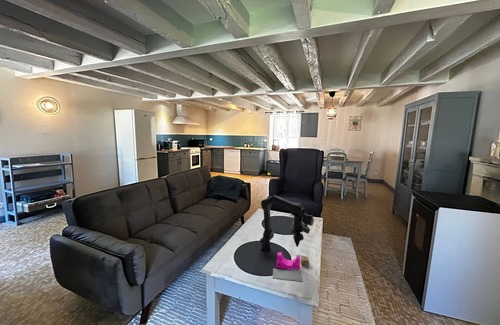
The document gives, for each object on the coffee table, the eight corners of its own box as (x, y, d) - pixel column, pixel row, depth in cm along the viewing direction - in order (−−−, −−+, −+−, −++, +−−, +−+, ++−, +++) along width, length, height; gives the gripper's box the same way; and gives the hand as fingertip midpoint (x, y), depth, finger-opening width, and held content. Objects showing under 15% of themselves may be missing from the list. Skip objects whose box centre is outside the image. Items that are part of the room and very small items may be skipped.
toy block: (276, 267, 137) (276, 257, 136) (277, 262, 143) (278, 252, 142) (299, 271, 134) (300, 260, 133) (299, 265, 140) (300, 255, 139)
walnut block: (301, 265, 140) (301, 260, 140) (300, 261, 145) (300, 255, 144) (308, 266, 139) (309, 260, 139) (307, 261, 144) (308, 256, 144)
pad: (272, 278, 126) (272, 277, 126) (273, 269, 135) (273, 268, 135) (302, 281, 124) (302, 281, 124) (301, 272, 133) (301, 271, 133)
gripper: (312, 228, 132) (310, 251, 134) (307, 217, 150) (305, 237, 152) (294, 227, 133) (293, 250, 135) (291, 216, 151) (290, 236, 153)
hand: (296, 243), depth 144 cm, fingers open, 9 cm apart
